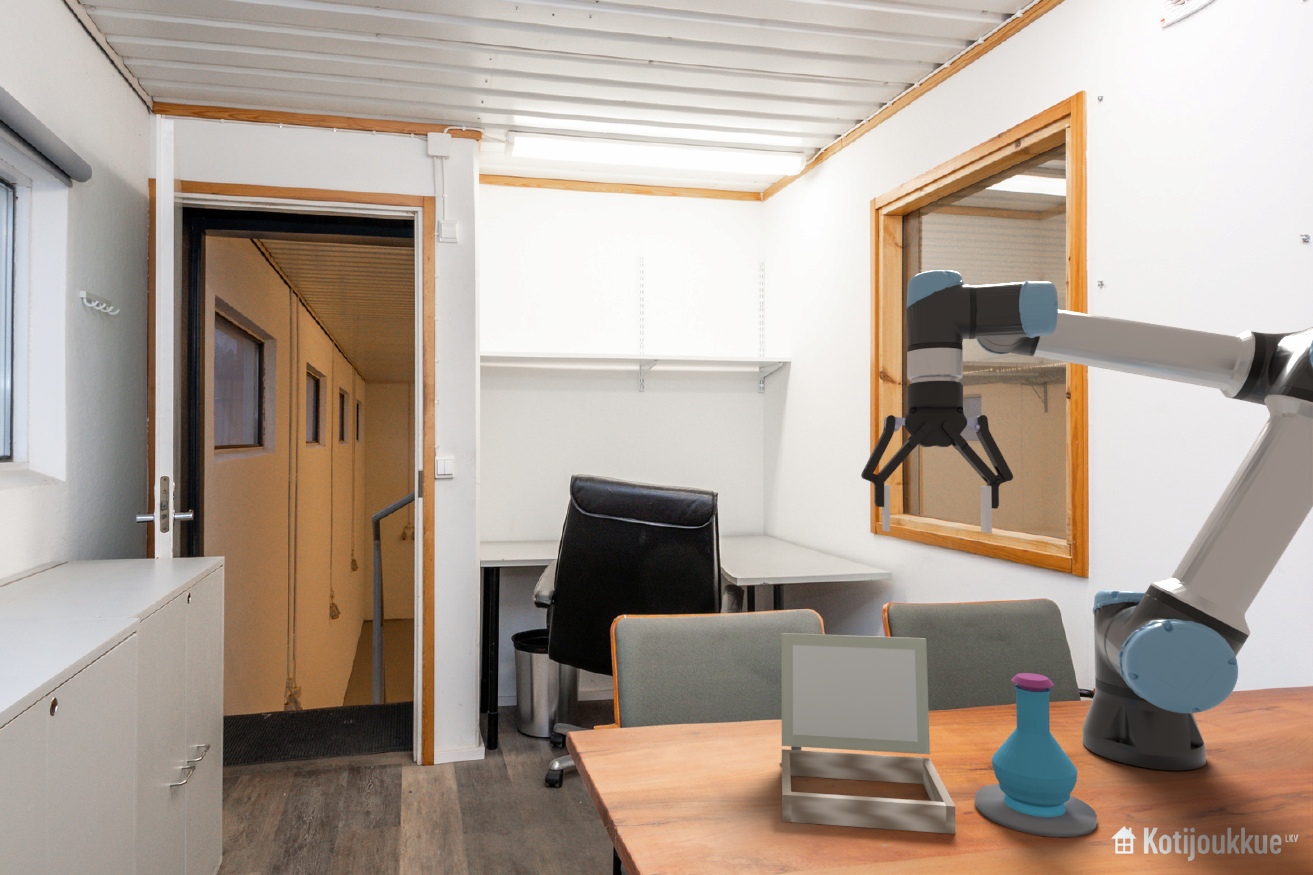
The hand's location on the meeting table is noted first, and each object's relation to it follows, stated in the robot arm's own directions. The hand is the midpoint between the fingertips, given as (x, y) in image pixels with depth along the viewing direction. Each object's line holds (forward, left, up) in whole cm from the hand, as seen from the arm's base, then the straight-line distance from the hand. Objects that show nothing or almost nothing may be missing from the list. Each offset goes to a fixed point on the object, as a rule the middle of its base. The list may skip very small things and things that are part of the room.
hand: (935, 531), depth 112 cm
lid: (+12, +8, -21) cm, 25 cm away
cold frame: (+12, +16, -32) cm, 37 cm away
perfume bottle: (-8, +16, -31) cm, 36 cm away
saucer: (-8, +16, -32) cm, 36 cm away
